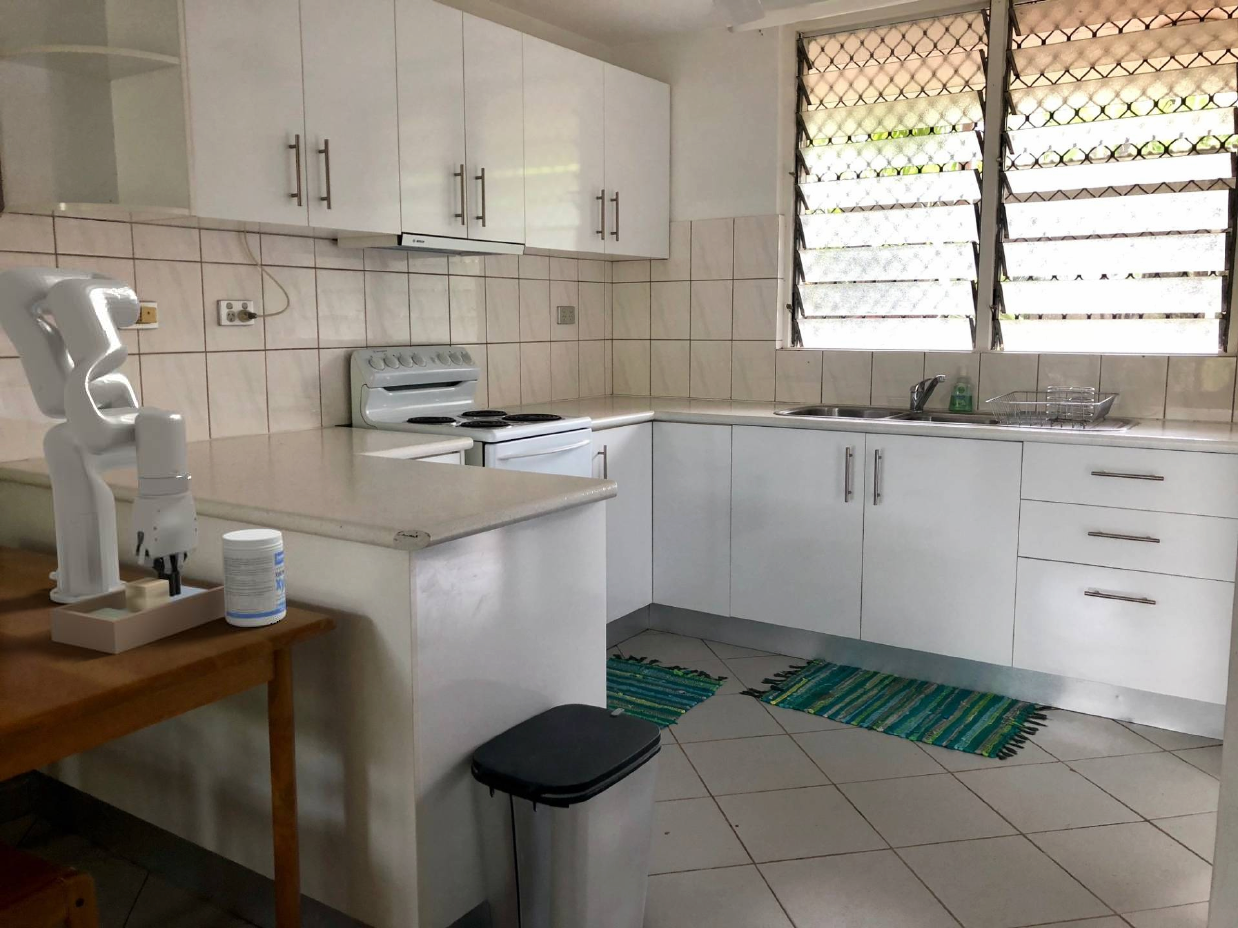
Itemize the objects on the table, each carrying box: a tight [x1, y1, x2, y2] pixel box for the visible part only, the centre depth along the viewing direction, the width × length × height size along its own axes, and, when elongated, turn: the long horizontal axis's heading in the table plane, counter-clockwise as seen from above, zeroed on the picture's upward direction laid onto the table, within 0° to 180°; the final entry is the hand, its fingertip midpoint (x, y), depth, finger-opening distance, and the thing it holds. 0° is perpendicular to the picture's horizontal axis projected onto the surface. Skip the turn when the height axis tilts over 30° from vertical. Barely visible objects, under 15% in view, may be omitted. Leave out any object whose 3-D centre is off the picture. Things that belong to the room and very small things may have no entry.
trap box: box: [49, 573, 226, 655], centre depth 158 cm, size 14×24×5 cm, turn 156°
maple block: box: [125, 576, 170, 613], centre depth 157 cm, size 4×4×4 cm
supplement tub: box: [221, 528, 287, 628], centre depth 161 cm, size 10×10×15 cm
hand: (170, 594), depth 161 cm, fingers closed
